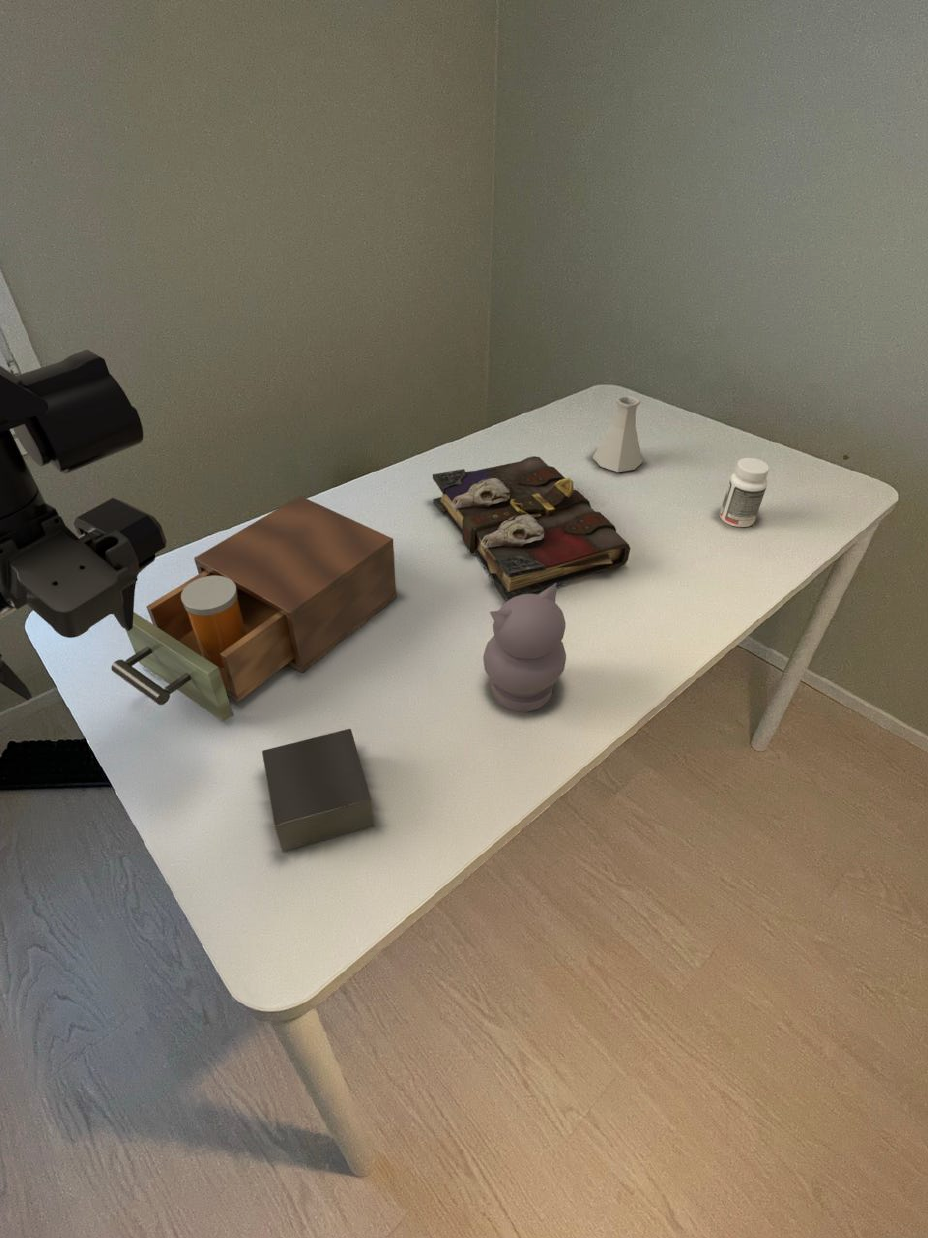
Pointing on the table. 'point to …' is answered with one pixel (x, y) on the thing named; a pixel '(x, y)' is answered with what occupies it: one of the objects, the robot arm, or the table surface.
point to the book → (529, 525)
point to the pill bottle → (745, 492)
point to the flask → (621, 439)
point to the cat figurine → (526, 650)
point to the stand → (317, 789)
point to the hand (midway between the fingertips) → (79, 660)
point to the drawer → (183, 667)
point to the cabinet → (309, 573)
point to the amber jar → (214, 615)
